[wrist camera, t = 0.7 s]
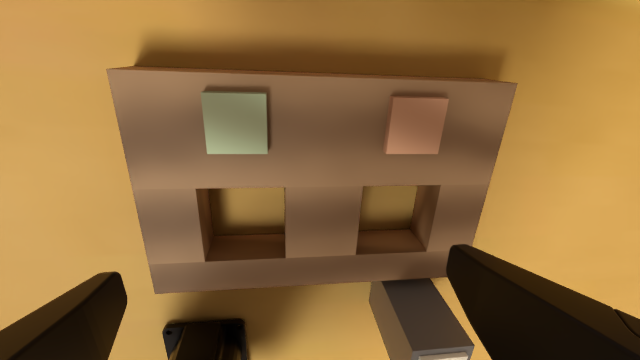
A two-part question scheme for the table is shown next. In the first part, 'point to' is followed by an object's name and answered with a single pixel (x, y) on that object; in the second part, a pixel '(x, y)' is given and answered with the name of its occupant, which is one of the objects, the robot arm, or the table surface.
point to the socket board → (304, 170)
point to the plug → (417, 321)
